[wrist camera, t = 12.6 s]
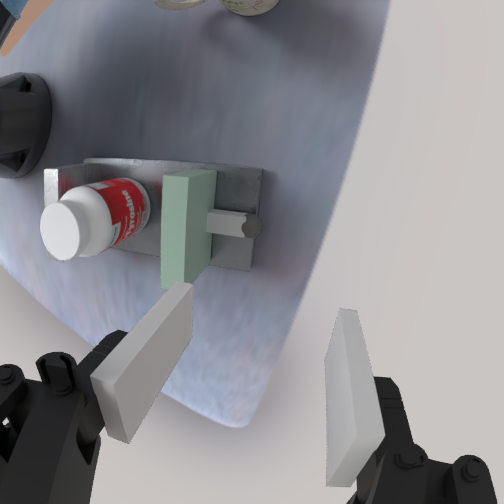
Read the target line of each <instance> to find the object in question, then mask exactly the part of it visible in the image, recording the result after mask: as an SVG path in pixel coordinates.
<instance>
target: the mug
mask: <svg viewBox="0 0 504 504" xmlns="http://www.w3.org/2000/svg"><path fill="white" fill-rule="evenodd" d="M206 1H208V0H190V1H185V2H174V1H170V0H154V3H155V4H156V5H157V6H158V7H159V8H161V9H164V10H181V9H187V8H192V7H195V6H197V5H200V4H202V3H204V2H206ZM219 1H220V2H221V3H222V4H224V5H225V6H226V7H227V8H228V9H229V10H231V11H232V12H234V13H236V14H239V15H244V16H254V15H259V14H262V13H265V12H267V11H269V10H270V9H272V8H273V7H274V6H275V5H276V4H277V3H278V1H279V0H219Z"/></svg>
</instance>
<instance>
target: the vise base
mask: <svg viewBox="0 0 504 504" xmlns="http://www.w3.org/2000/svg"><path fill="white" fill-rule="evenodd" d="M192 169H207V170H217V179H216V191H215V203H214V209H218V210H226V211H233V212H241V213H248V214H255V215H257V216H258V209H259V200H260V191H261V182H262V173H263V169H261V168H252V167H244V166H234V165H224V164H213V163H202V162H189V161H174V160H157V159H136V158H97V157H91V158H84V163H81V164H74V165H67V166H60V167H54V168H48V169H44V198H45V208H46V207H47V206H48V205H50V204H52V203H54V202H57V201H60V199H61V198H62V196H63V195H64V194H65V193H66V192H67V191H69V190H71V189H73V188H75V187H79V186H84V185H88V184H93V183H97V182H102V181H107V180H112V179H117V178H130V179H133V180H135V181H137V182H138V183H140V184H141V185H142V186H143V188H144V189H145V190H146V192H147V194H148V197H149V200H150V216H149V219H148V221H147V223H146V225H145V226H144V228H143V229H142V230H140V231H139V232H138V233H136V234H134V235H132V236H130V237H129V238H127V239H125V240H123V241H121V242H119V243H117V244H116V245H114V246H112V247H110V248H115V249H121V250H126V251H132V252H137V253H143V254H149V255H154V256H160V257H161V213H162V189H163V175H167V174H172V173H177V172H182V171H187V170H192ZM254 244H255V237H254V238H246V237H244V238H243V237H236V236H229V235H222V234H216V233H212V243H211V259H210V262H209V263H208V265H212V266H218V267H224V268H230V269H237V270H243V271H249V272H250V270H251V267H252V262H253V253H254ZM48 253H49V259H52V260H56V261H60V262H63V261H65V260H59V259H57V258H56V257H54V256H53V255H52V254H51V253H50V252H49V251H48Z"/></svg>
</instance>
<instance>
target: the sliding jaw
mask: <svg viewBox="0 0 504 504" xmlns="http://www.w3.org/2000/svg"><path fill="white" fill-rule="evenodd" d="M216 179H217V170H207V169H192V170H187V171H182V172H177V173H172V174H167V175H163V189H162V213H161V289H166V290H169V289H170V288H171V287H172V286H173V285H174V283H175V282H176V281H180V282H185V283H190V284H192V283H193V281H194V280H195V279H196V278H197V277H198V275H199V274H200V273H201V272H202V271H203V269H204V268H205V267H206V266H207V265H208V263H209V262H210V259H211V243H212V233H216V234H222V235H229V236H236V237H243V238H244V237H246V238H254V237H256V236H258V235H259V234H260V233H261V231H262V226H263V225H262V221H261V219H260V218H259V217H258V216H257V215H255V214H248V213H241V212H233V211H226V210H218V209H214V203H215V191H216Z"/></svg>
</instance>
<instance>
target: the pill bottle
mask: <svg viewBox="0 0 504 504" xmlns="http://www.w3.org/2000/svg"><path fill="white" fill-rule="evenodd" d="M149 216H150V200H149V197H148V194H147V192H146V190H145V189H144V188H143V186H142V185H141V184H140V183H138V182H137V181H135V180H133V179H130V178H117V179H112V180H107V181H102V182H97V183H93V184H88V185H84V186H79V187H75V188H73V189H71V190H69V191H67V192H66V193H65V194H64V195H63V196H62V198H61V199H60V201H57V202H54V203H52V204H50V205H48V206H47V207H46V208H45V210H44V212H43V214H42V217H41V222H40V229H41V235H42V239H43V242H44V244H45V246H46V248H47V249H48V251H49V252H50V253H51V254H52V255H53V256H54V257H56V258H57V259H59V260H70V259H72V258H74V257H77V256H81V257H92V256H95V255H97V254H99V253H101V252H103V251H105V250H106V249H108V248H110V247H112V246H114V245H116V244H117V243H119V242H121V241H123V240H125V239H127V238H129V237H130V236H132V235H134V234H136V233H138V232H139V231H140V230H142V229H143V228H144V226H145V225H146V223H147V221H148V219H149Z"/></svg>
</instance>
